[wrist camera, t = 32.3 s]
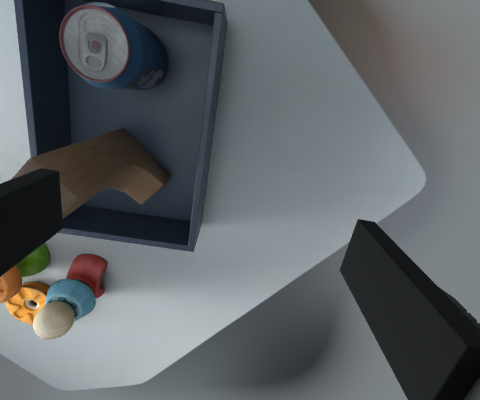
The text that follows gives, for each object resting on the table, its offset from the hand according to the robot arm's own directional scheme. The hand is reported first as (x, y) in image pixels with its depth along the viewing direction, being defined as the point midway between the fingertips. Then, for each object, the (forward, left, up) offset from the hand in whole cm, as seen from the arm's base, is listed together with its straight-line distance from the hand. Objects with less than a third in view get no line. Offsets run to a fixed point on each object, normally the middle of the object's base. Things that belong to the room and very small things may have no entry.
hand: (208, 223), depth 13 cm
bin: (+1, -12, -28) cm, 31 cm away
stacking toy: (+29, -25, -28) cm, 48 cm away
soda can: (-7, -12, -27) cm, 31 cm away
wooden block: (+6, -12, -27) cm, 31 cm away
